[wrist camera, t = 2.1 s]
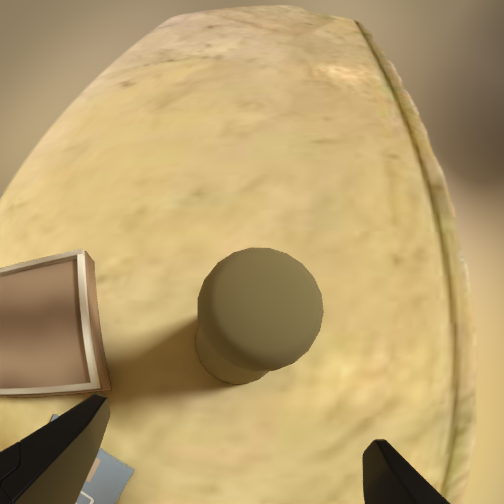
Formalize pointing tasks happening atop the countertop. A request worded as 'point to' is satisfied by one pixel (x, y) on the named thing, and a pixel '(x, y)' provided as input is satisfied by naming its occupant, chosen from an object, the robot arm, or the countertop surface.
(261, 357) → the olive pawn figure
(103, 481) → the blueprint card
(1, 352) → the brown square tray
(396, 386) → the countertop surface
